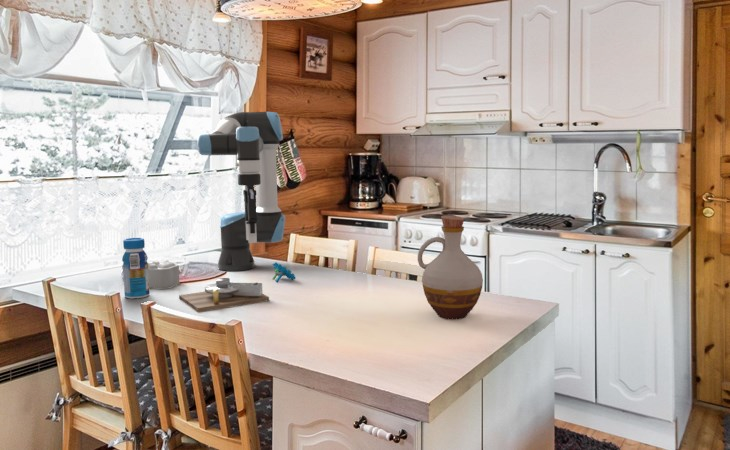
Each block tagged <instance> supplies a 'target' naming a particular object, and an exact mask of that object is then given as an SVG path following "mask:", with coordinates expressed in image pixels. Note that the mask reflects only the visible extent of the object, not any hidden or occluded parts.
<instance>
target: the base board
mask: <svg viewBox="0 0 730 450" xmlns="http://www.w3.org/2000/svg"><path fill="white" fill-rule="evenodd" d="M178 296H179V297H178V299H179V300H180V301H182V302H183V303H184V304H185V305H188V306H189V307H190V308H191V309H193V310H194V311H196V312H197V313H200V312H207V311H212V310H217V309H224V308H231V307H236V306H238V307H239V306H242V305H248V304H255V303H256V304H257V303H261V302H268V301H270V297H269V296H268V295H265V294H264V293H262V294H261V295H260V296H255V295H234V294H233V293H230V294H219V304H217V305H215V304H214V298H213V294H209V293H206V292H205V291H198V292H193V293H192V292H191V293H185V294H178Z"/></svg>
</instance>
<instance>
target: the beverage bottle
mask: <svg viewBox="0 0 730 450" xmlns="http://www.w3.org/2000/svg"><path fill="white" fill-rule="evenodd" d="M122 242H123V250H125V251H124V252H123V255H122V260H121V261H122V266H121V267H122V276H123V278H122V279H123V287H124V290H123V291H124V298H127V299H132V300H133V299H134V298H137V299H144V298H146V297H148V296H150V293H151V290H150V288H149V273H148V267H149V265H148V263H149V262H148V255H147V253H146V252H145V250H144V249H145V245H146V244H145V243H146V242H145V239H144V237H131V238H130V237H128V238H125V239H123V241H122ZM134 300H135V299H134Z"/></svg>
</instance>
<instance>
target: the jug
mask: <svg viewBox="0 0 730 450" xmlns="http://www.w3.org/2000/svg"><path fill="white" fill-rule="evenodd" d="M440 218H441V222H442V226H441V231H442V232H443V236H444V237H440V236H435V237H431V238H429V239H427V240H426V241H424V243H423V244H421V246H420V248H419V250H418V252H417V263H418V266H419V267H420V268H422V269H424V270H423V272H422V278H421V282H422V283H421V285H422V288H423V292H424V296H425V298H426V301H427V303H428V304H429V305H430V307H431V309H432V311H434V313H436V315H437V316H438V317H439V318H441V319H444V320H451V321H453V320H454V321H455V320H463V319H465V318H466V317H467V316H468V315H469V314H470V313H471V311H472V310H473V309H474V308H475V306H476V305H477V303H478V301H479V298H480V296H481V293H482V289H483V283H484V278H483V274H482V273H483V272H481V270H480V267H479V266H478V265H477V264H476V263H475V262H474V261H473V260H472V259H471V258H469V256H468V255H467V254H466V253H465V252H464V250H462V248H461V247H462V246H461V241H462V234H463V232H464V228H465V226H463V224H464V221H465V217H462V216H457V215H441V217H440ZM433 243H440V244H442V251H441V252H440V253H439V254H438V255H437V256H436V257H435V258H434V259H433V260H431V261H430V262H428V263H424V260H423V254H424V253H425V251H426V249H427V248H428V247H429V246H430V245H431V244H433Z"/></svg>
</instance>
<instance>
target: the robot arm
mask: <svg viewBox="0 0 730 450" xmlns="http://www.w3.org/2000/svg"><path fill="white" fill-rule="evenodd" d="M283 134H284V133H283V127H282V122H281V118H280V115H279V114H278V112H276V111H275V112H274V111H241V112H239V111H238V112H235V113H232V114H230V115H226V116H225V117H224V118H222V119H221V120H220V121H219V122H218V124H217V126H216V128H215V129H214V130H213V131H212V132H211V133H207V132H206V133H200V134H199V135H198V136H197V143H196V144H197V150H198V153H199V155H201V156H208V157H210V156H236V157H237V158H236V161H237V163H235V167H237V172H238V174H237V185H238V186H244V187H245V188H244V190H243V192H242V193H243V201H244V211H237V212H233V213H232V212H231V213H227V214H224V215H222V216H221V217H220V226H219V227H220V241H221V243H220V245H221V251H220V255H219V259H218V260H217V261H218V262H217V269H218V268H219V269H221V270H220V271H224V270H226V272H238V271H239V272H240V271H246V270H251V269H253V268H255V265H256V264H255V260H254V257H253V254H252V250H251V248H250V244H254V243H255V244H256V243H257V244H258V243H259V244H260V243H261V244H262V243H270V244H272V243H279V242H281V241H282V240H283V238H284V232H285V225H286V215H285V214H283V213H282V209H281V208H280V207H279V206H278V205H279V203H278V175H277V172H278V171H277V148H278V147H279V146H280V142H281V141H284V135H283ZM255 187H256V188H255ZM219 269H218V270H219Z"/></svg>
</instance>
